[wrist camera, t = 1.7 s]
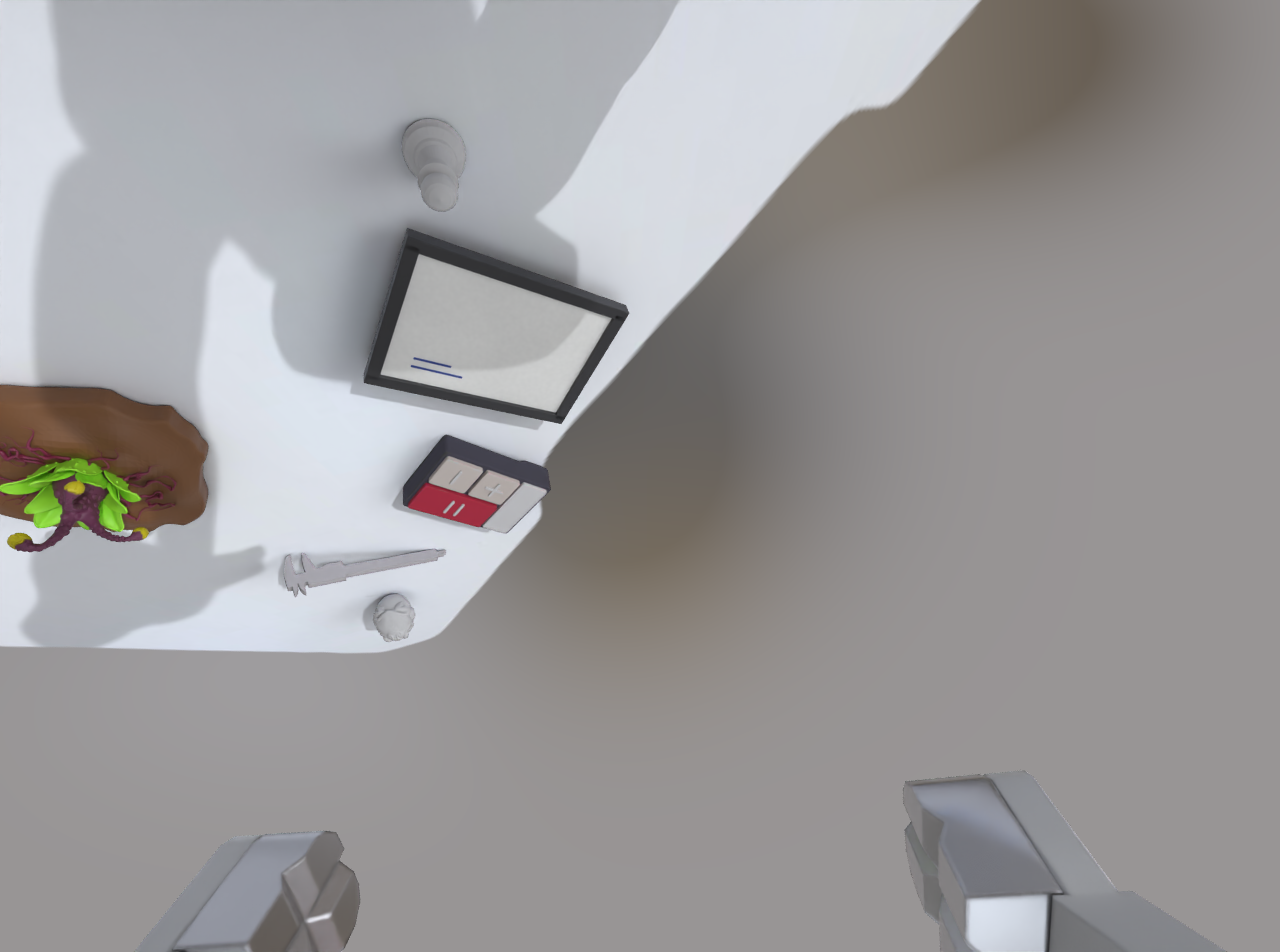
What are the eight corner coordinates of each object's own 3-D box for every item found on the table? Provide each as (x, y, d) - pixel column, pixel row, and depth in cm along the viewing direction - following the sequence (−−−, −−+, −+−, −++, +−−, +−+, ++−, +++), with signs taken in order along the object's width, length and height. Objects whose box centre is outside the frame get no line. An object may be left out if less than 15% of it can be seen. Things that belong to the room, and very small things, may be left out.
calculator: (445, 456, 67) (553, 493, 76) (445, 429, 69) (549, 468, 79) (401, 510, 72) (506, 539, 81) (402, 483, 75) (504, 514, 84)
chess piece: (477, 162, 47) (488, 212, 42) (429, 191, 48) (434, 243, 43) (439, 104, 43) (447, 152, 39) (387, 137, 44) (388, 188, 40)
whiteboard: (406, 214, 49) (407, 236, 47) (621, 293, 60) (629, 313, 58) (364, 360, 59) (363, 383, 57) (556, 403, 70) (561, 424, 68)
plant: (-86, 359, 48) (-161, 463, 41) (210, 402, 58) (189, 491, 51) (-28, 507, 60) (-79, 606, 53) (208, 522, 70) (190, 606, 63)
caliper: (286, 557, 79) (282, 599, 75) (286, 553, 78) (281, 594, 75) (445, 552, 88) (448, 589, 84) (446, 548, 87) (448, 585, 83)
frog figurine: (380, 610, 95) (380, 651, 91) (366, 590, 90) (366, 632, 86) (419, 602, 97) (420, 642, 93) (408, 582, 91) (409, 623, 87)
